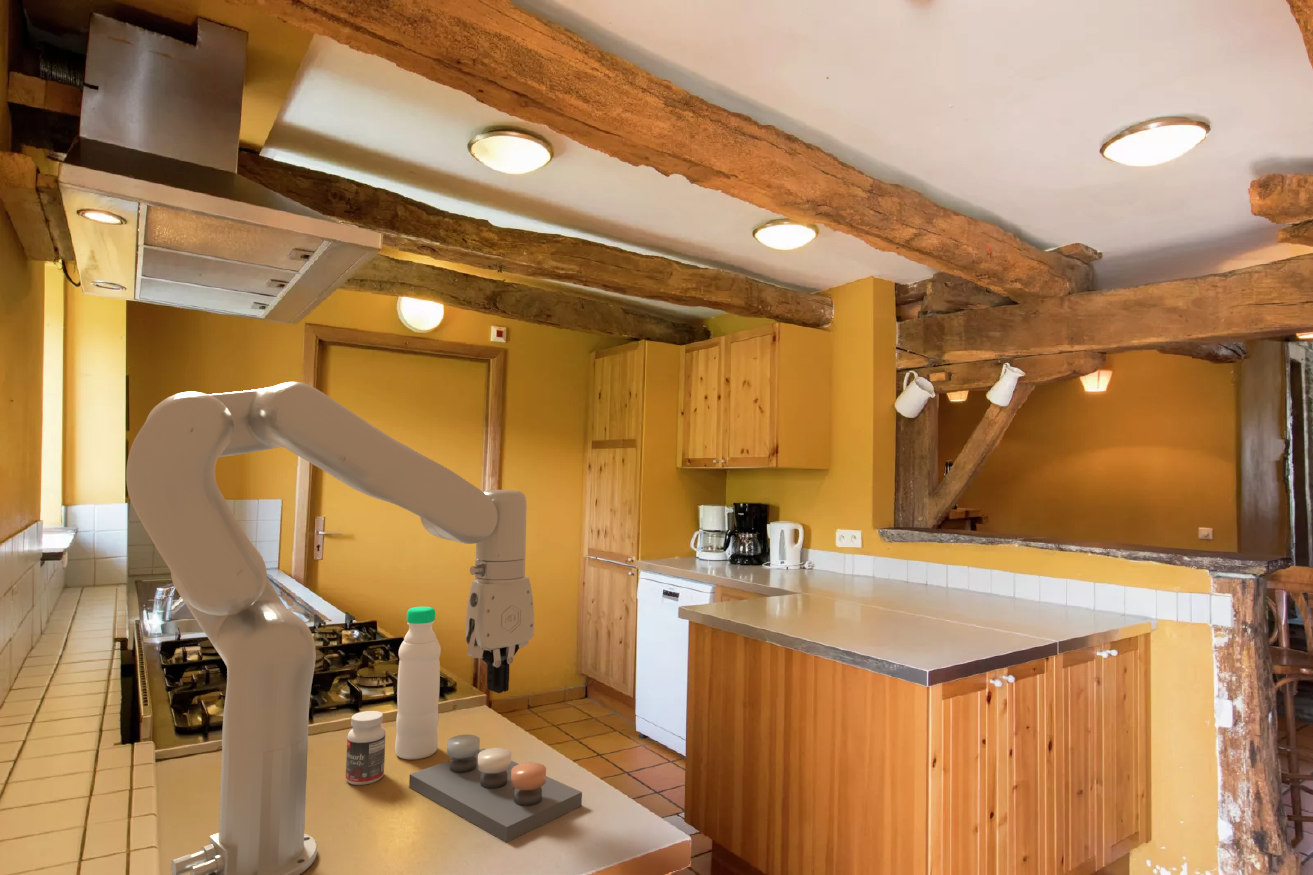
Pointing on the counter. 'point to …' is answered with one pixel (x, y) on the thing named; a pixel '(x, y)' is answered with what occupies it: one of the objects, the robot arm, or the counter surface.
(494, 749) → the white button
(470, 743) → the bluegrey button
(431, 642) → the water bottle
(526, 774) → the terracotta button
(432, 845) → the counter surface
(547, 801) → the button panel
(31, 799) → the counter surface
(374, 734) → the pill bottle
